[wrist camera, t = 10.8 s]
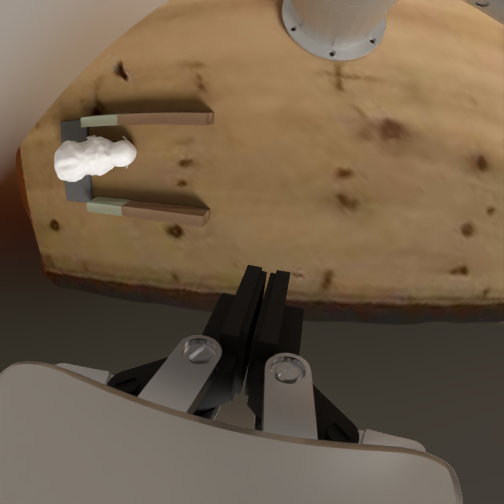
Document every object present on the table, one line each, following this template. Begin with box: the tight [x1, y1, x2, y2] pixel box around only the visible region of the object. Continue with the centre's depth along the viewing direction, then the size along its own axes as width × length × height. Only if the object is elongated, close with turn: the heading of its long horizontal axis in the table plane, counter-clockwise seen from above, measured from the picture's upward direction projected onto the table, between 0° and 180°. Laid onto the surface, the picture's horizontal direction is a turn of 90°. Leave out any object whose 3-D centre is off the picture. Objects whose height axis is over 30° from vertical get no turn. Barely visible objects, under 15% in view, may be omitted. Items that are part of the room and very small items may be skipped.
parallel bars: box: [81, 112, 214, 227], centre depth 40 cm, size 15×20×3 cm
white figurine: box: [54, 135, 137, 182], centre depth 38 cm, size 6×8×12 cm
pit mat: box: [61, 120, 93, 202], centre depth 43 cm, size 14×6×1 cm, turn 176°
